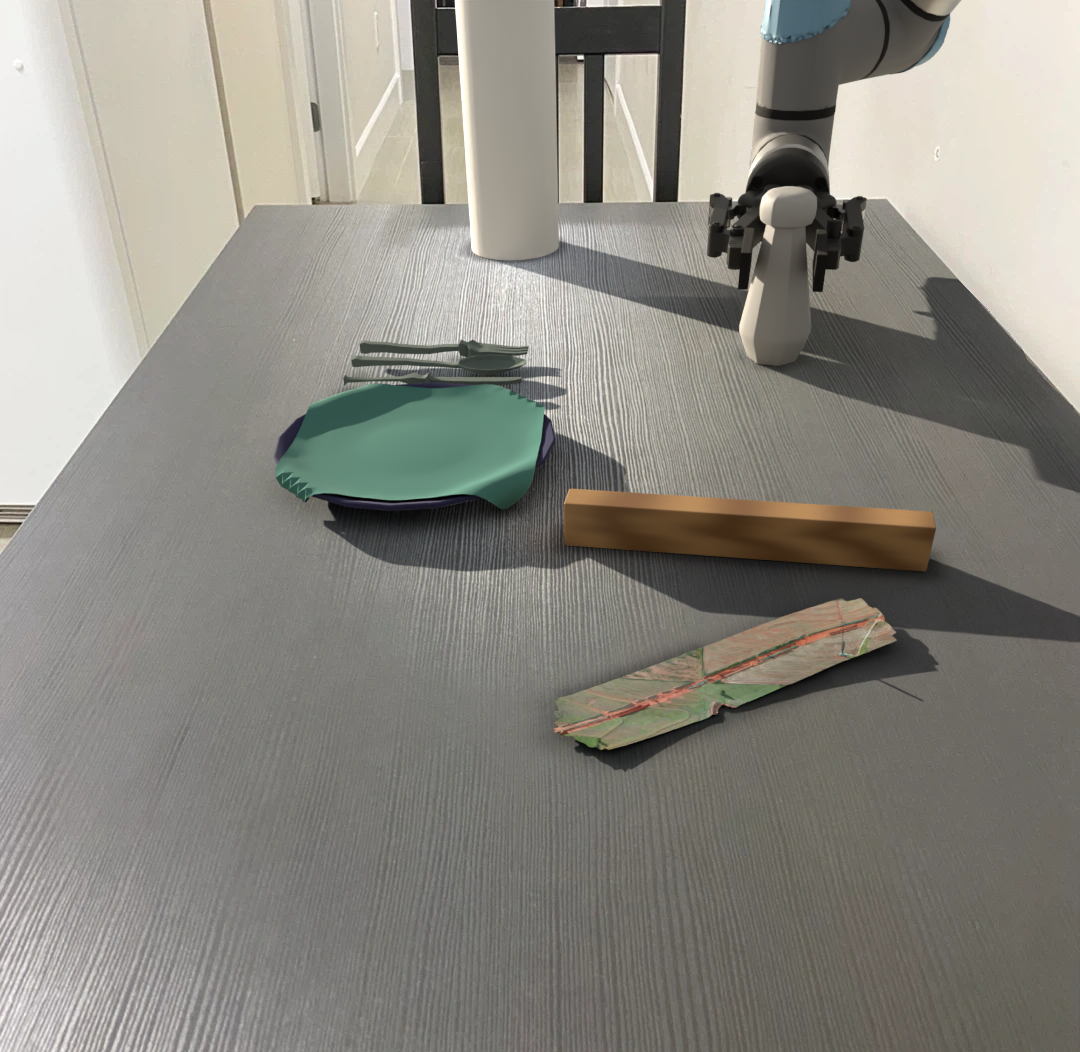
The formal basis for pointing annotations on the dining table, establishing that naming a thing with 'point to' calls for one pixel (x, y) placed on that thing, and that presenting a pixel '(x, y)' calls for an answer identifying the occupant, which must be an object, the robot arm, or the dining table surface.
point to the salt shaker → (780, 280)
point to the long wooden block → (750, 529)
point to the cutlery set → (419, 435)
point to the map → (721, 674)
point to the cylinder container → (509, 125)
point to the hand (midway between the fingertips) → (782, 272)
